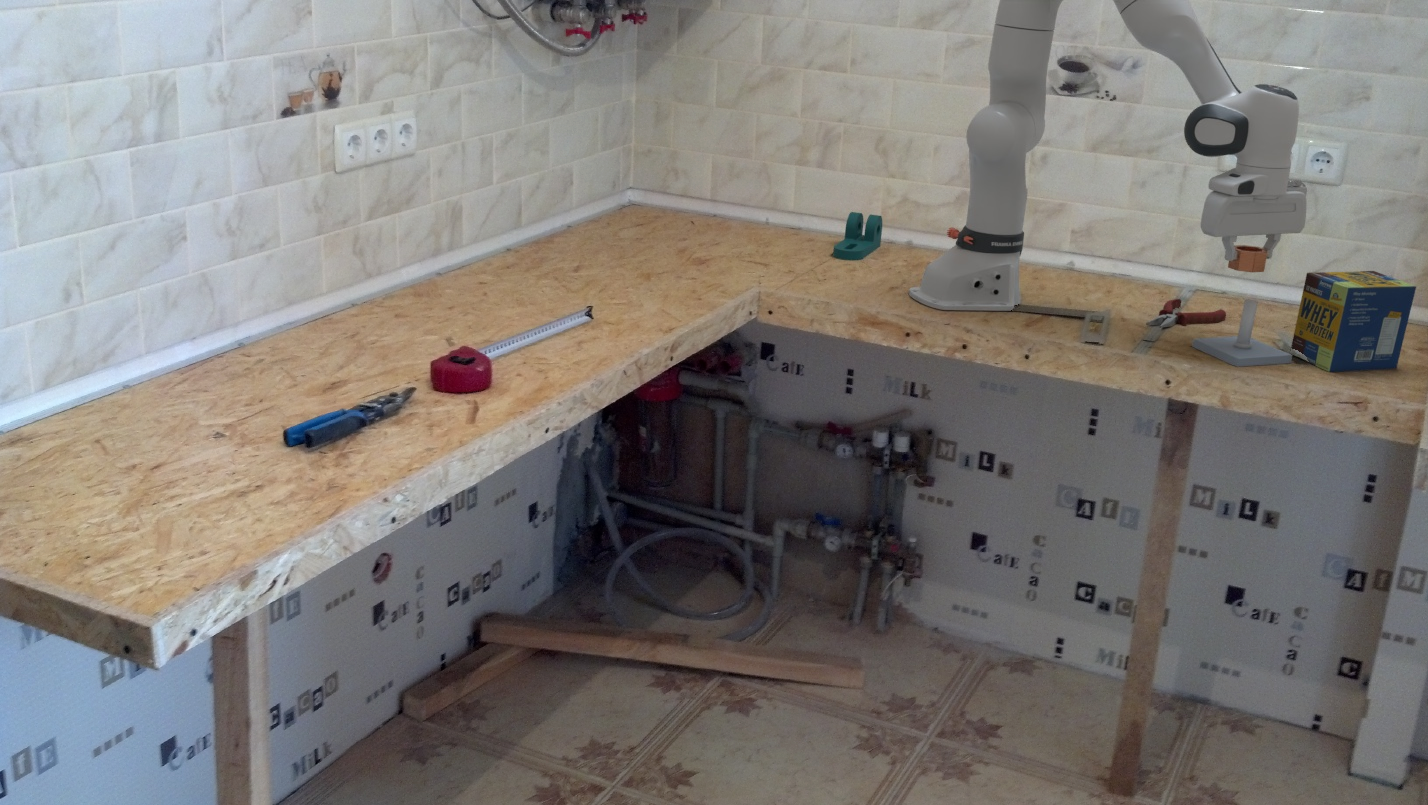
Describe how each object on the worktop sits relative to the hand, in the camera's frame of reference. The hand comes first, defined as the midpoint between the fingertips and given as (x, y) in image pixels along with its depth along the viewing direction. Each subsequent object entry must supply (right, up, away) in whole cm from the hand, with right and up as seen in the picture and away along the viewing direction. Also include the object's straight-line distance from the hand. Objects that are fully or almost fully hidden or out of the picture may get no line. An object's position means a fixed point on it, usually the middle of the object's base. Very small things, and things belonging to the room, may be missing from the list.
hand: (1247, 259), depth 241 cm
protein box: (+19, -18, +5) cm, 27 cm away
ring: (0, -2, +1) cm, 2 cm away
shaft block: (+1, -17, +5) cm, 17 cm away
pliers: (-4, -9, +27) cm, 29 cm away
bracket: (-63, +8, +65) cm, 91 cm away
